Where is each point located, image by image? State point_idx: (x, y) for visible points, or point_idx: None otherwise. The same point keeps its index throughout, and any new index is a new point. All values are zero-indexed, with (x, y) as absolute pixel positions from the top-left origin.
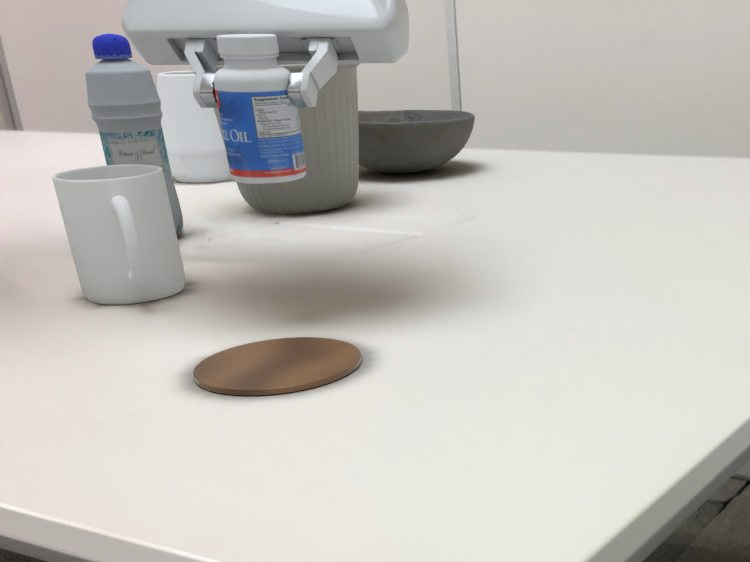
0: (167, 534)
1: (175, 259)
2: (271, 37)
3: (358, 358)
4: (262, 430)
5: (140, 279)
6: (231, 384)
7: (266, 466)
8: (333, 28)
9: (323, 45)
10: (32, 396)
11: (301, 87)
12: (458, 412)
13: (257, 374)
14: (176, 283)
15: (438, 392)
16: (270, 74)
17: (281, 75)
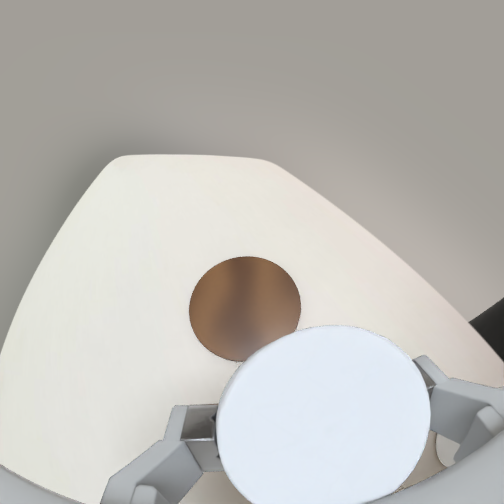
0: (203, 159)
1: (448, 451)
2: (218, 423)
3: (190, 319)
4: (207, 224)
5: None
6: (251, 262)
7: (190, 197)
8: (61, 499)
9: (115, 496)
10: (362, 237)
11: (184, 409)
12: (123, 259)
13: (245, 280)
14: (438, 444)
15: (135, 282)
16: (234, 377)
17: (220, 406)
